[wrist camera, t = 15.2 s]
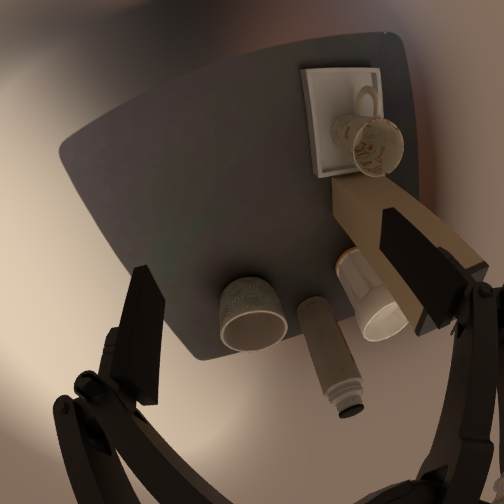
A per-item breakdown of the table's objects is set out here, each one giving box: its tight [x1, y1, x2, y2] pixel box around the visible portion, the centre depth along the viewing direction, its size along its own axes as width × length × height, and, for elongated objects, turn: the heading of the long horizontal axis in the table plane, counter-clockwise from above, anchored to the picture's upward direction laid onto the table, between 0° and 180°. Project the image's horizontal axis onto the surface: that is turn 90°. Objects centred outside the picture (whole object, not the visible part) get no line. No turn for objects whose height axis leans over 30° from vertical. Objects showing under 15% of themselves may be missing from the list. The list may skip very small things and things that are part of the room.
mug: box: [331, 86, 404, 177], centre depth 35 cm, size 8×13×10 cm, turn 2°
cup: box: [335, 246, 408, 341], centre depth 51 cm, size 11×11×17 cm
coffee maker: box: [300, 67, 489, 337], centre depth 31 cm, size 27×13×29 cm, turn 10°
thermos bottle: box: [296, 296, 364, 418], centre depth 53 cm, size 8×8×28 cm
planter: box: [220, 277, 288, 352], centre depth 54 cm, size 12×12×11 cm
